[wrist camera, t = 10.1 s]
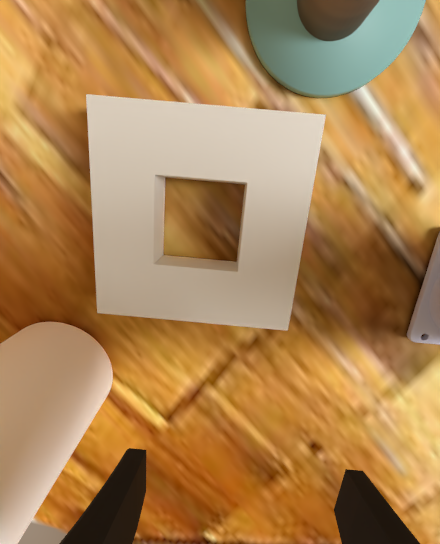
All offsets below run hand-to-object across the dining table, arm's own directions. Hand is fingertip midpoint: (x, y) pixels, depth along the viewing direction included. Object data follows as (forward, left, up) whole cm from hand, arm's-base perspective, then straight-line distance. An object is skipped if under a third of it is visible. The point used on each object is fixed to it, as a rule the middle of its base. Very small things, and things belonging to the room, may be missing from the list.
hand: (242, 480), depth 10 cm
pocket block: (+3, -8, -10) cm, 13 cm away
